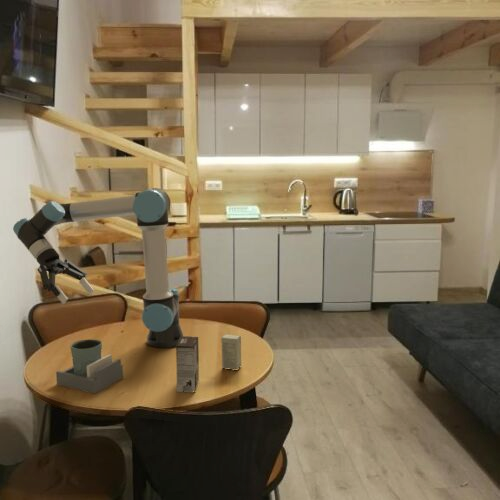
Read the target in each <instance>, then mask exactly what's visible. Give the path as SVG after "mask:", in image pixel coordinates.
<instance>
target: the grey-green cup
mask: <svg viewBox="0 0 500 500" xmlns="http://www.w3.org/2000/svg"><path fill="white" fill-rule="evenodd" d="M102 346H103V343H102V341H101V340H99V339H95V338H94V339H88V338H87V339H82V340H81V339H80V340H77V341H75V342H73V343H71V344H70V351H71V357H72V367H73V368H74V374H75V375H79V376H84V377H87V365H89V364H91V363H93V362H95V361H97V360H99V359H101V358H102V349H103V347H102Z"/></svg>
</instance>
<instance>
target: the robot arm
mask: <svg viewBox="0 0 500 500" xmlns="http://www.w3.org/2000/svg"><path fill="white" fill-rule="evenodd" d="M40 208H41V209H39V210H38V211H37V212H36V213H35V214H34V215H33V217H32V218H28V217H23V218H21V219H20V220H18V221H16V223H15V224H14V225H13V227H12V228H13V229H12V230H13V233H14V234H15V235H16V237H17V239H18V240H19V241H20V242H21V243H22V244H23V245H24V247H25V248H26V249H27V250H28V252H29V253H30V255H32V257H33V258H34V259H35V260H36V262H37V263H38V264H39V266H38V267H37V271H38V273H39V277H40V280H41V284H42V288H43V290H45V291H48V292H51V293H52V294H53V295H54V296H55V297H57V299H58V300H59V301H60V302H61V303H62V304H63V305H64V304H65V303H67V301H68V300H69V297H68V296H67V295H66V294H65V293H64V291H63V290H62V289H61V288H60V286H59V285H58V284H56V275H58V274H59V275H60V274H63V275H67V276H69V277H72V278H73V279H76V280H78V282H79V285H81V287H82V288H83V289H84V290H85V292H87V294H88V295H89V296H90V295H92V293H93V292H94V291H95V289H94V288H93V287H92V285H91V284H90V281H89V280H88V279H87V278H86V276H87V275H88V273H87V272H86V271H84V270H83V269H82V268H81V267H79V266H77V265H76V264H74V263H73V262H71V261H70V259H68V258H65V259H64V260H62V259H61V258H60V254H59V253H58V252H57V250H56V249H55V248H54V247H53V245H52V244H51V243H50V241H48V239H47V238H46V237H45V235H46V234H47V233H48V232H49V231H50V230H52V228H54V227H55V226H58V225H61V224H67V223H74V222H82V221H90V220H98V219H99V220H100V219H106V218H107V219H108V218H116V217H124V216H133V215H135V216H136V224H137V227H138V228H139V229H140V230H141V236H142V237H141V238H142V249H143V250H142V251H143V263H144V264H143V265H144V276H145V290H146V292H145V293H144V294H143V295H142V304H143V310H142V313H141V321H142V323H143V325H144V327H146V328H147V329H148V334H147V338H146V340H147V341H146V343H147V345H149V347H153V348H161V349H165V348H167V349H169V348H173V347H176V345H177V343H178V341H179V338H180V337H181V336H184V332H183V331H182V328H181V325H180V301H179V300H180V299H179V298H180V295H179V294H180V293H179V290H178V289H177V288H173V287H170V285H169V273H168V272H169V270H168V255H167V243H166V228H167V227H168V226H169V225H170V224H169V212H170V211H169V210H170V209H171V198H170V196H169V195H168V193H167V192H166V191H165V190H163V189H161V188H157V187H155V188H153V187H152V188H148V189H146V188H145V189H144V190H142V191H139V192H135V193H134V194H133V195H128V196H119V197H111V198H109V197H108V198H103V199H102V198H101V199H96V200H87V201H85V200H84V201H77V202H71V203H69V202H68V203H58V202H57V201H54V200H49V201H48V202H47V203H45V204H44V205H43V206H42V207H40Z"/></svg>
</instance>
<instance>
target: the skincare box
mask: <svg viewBox="0 0 500 500" xmlns="http://www.w3.org/2000/svg"><path fill="white" fill-rule="evenodd" d="M241 337H242V336H241V335H239V334H230V333H229V334H227V333H225V334H224V335H223V336H221V368H222V367H223V368H230V369H238V368H239V367H240V366H241V367H242V338H241Z"/></svg>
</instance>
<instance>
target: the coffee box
mask: <svg viewBox="0 0 500 500" xmlns="http://www.w3.org/2000/svg"><path fill="white" fill-rule="evenodd" d="M175 348H176V349H175V350H176V351H175V355H176V357H175V358H176V360H175V361H176V393H193V391H194V392H195V391H196V392H197V389H196V388H198V385H199V382H198V381H200V373H199V372H200V371H199V370H200V367H199V365H200V361H199V359H200V358H199V354H200V353H199V352H200V351H199V350H200V349H199V337H198V336H189V335H188V336H184V335H183V336H181V337H180V338H179V341H178V343H177V345H176V346H175ZM183 391H184V392H183ZM196 392H195V393H196Z"/></svg>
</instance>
